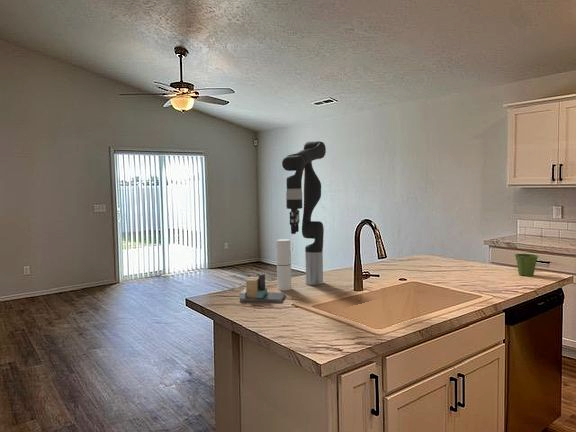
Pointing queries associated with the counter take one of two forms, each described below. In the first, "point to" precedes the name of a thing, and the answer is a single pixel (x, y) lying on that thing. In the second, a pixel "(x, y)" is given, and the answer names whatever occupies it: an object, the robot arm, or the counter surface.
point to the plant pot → (526, 264)
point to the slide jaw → (261, 286)
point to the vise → (267, 297)
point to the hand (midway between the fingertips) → (294, 232)
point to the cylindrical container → (283, 264)
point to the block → (252, 287)
